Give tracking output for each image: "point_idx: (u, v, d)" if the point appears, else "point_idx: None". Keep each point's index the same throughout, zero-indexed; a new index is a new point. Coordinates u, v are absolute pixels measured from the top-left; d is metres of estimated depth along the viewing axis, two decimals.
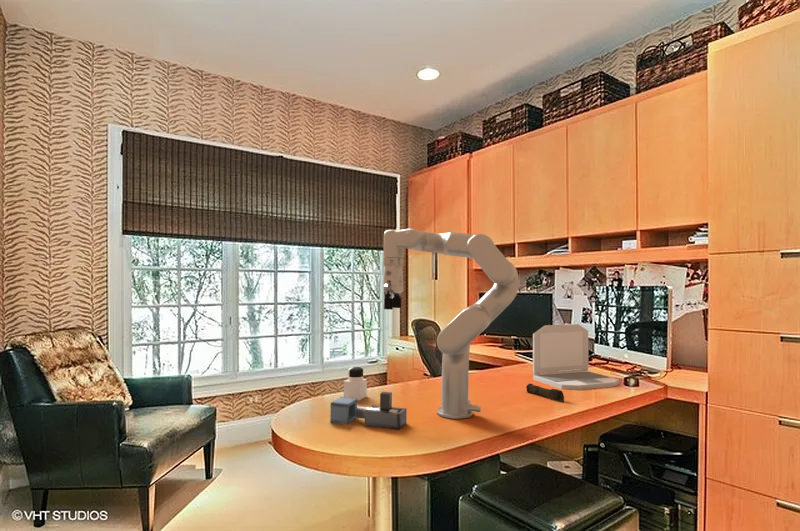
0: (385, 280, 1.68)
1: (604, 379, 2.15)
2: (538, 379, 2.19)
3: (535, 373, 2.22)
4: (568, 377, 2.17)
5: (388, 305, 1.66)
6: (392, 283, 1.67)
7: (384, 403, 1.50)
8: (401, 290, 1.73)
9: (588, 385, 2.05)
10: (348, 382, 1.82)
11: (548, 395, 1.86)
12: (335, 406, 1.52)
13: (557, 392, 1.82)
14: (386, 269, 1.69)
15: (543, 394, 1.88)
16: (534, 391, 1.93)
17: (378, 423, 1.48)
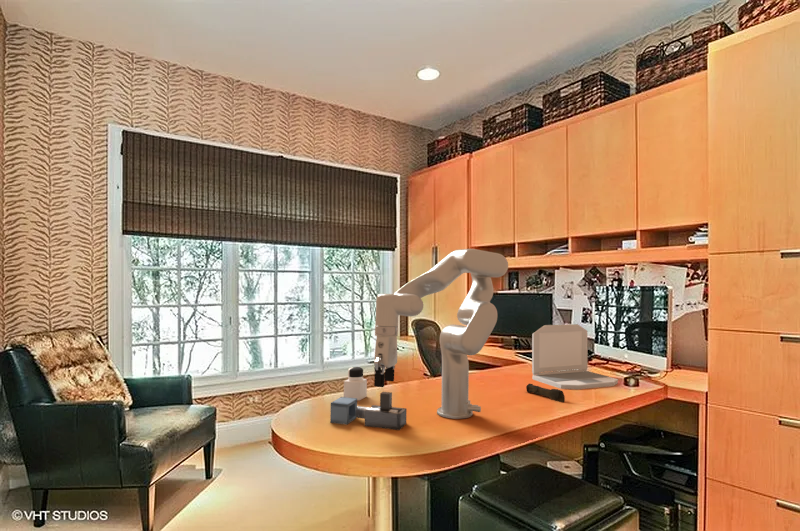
0: (376, 353, 1.47)
1: (603, 379, 2.16)
2: (537, 379, 2.19)
3: (534, 373, 2.22)
4: (567, 377, 2.18)
5: (379, 382, 1.45)
6: (384, 357, 1.46)
7: (384, 403, 1.50)
8: (394, 362, 1.52)
9: (587, 385, 2.05)
10: (348, 382, 1.82)
11: (548, 395, 1.86)
12: (335, 406, 1.52)
13: (558, 392, 1.83)
14: (378, 340, 1.47)
15: (543, 394, 1.88)
16: (534, 391, 1.93)
17: (378, 423, 1.48)
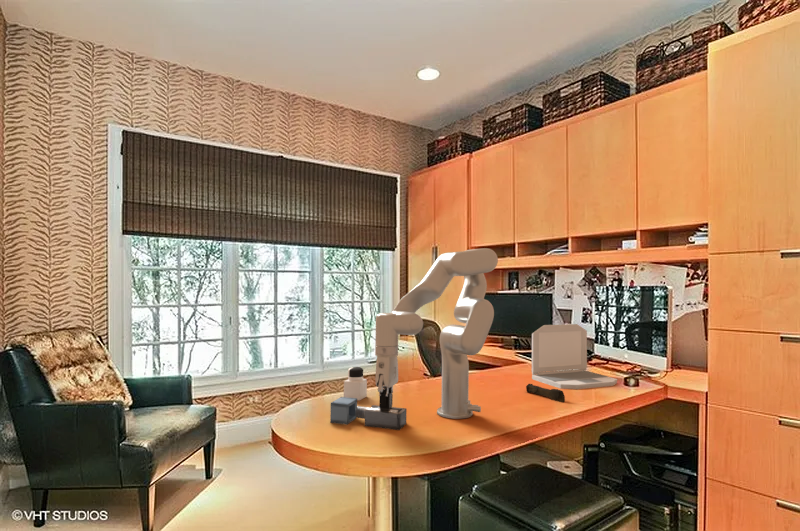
0: (377, 373, 1.47)
1: (602, 379, 2.16)
2: (537, 379, 2.19)
3: (534, 373, 2.23)
4: (567, 377, 2.18)
5: (384, 404, 1.48)
6: (385, 377, 1.46)
7: None
8: (396, 381, 1.52)
9: (587, 385, 2.05)
10: (348, 382, 1.82)
11: (548, 395, 1.86)
12: (335, 406, 1.52)
13: (558, 392, 1.83)
14: (378, 360, 1.47)
15: (543, 394, 1.88)
16: (534, 391, 1.93)
17: (378, 423, 1.48)
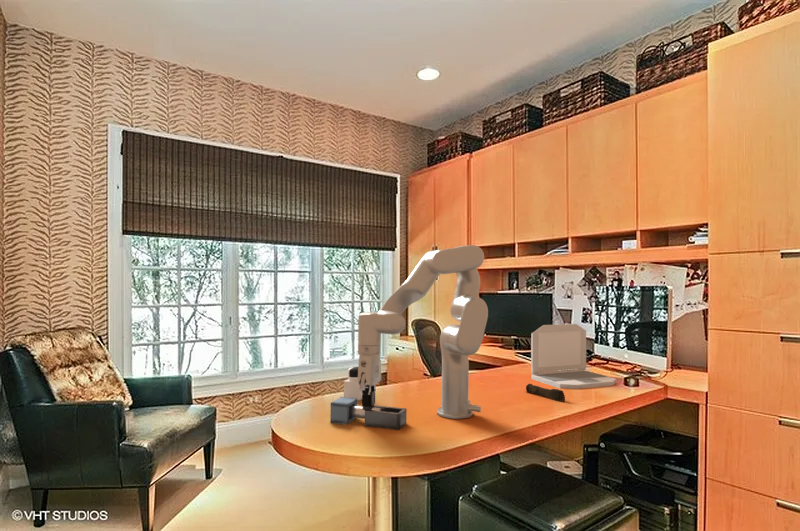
0: (359, 372, 1.49)
1: (602, 378, 2.17)
2: (536, 378, 2.20)
3: (533, 373, 2.23)
4: (566, 376, 2.19)
5: (366, 402, 1.50)
6: (367, 376, 1.48)
7: None
8: (378, 380, 1.54)
9: (586, 384, 2.06)
10: (348, 382, 1.82)
11: (549, 395, 1.86)
12: (335, 406, 1.52)
13: (558, 392, 1.83)
14: (360, 359, 1.49)
15: (543, 394, 1.88)
16: (534, 391, 1.93)
17: (378, 423, 1.48)
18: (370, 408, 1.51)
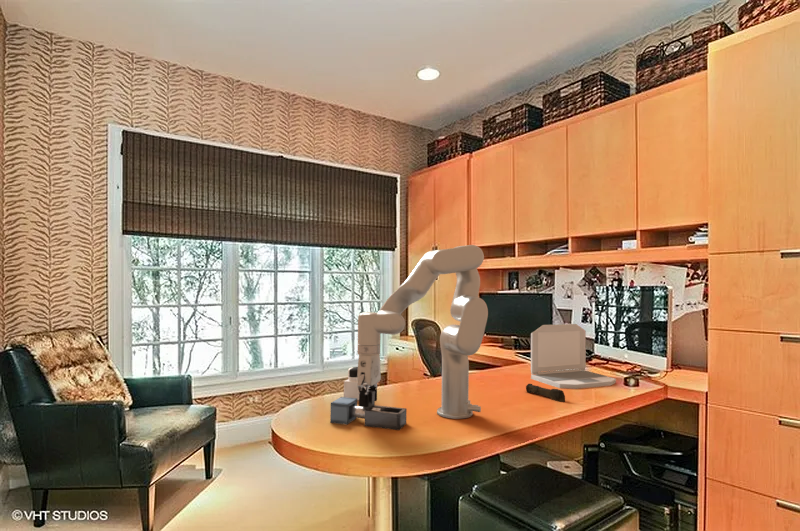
0: (359, 372, 1.49)
1: (601, 378, 2.17)
2: (536, 378, 2.20)
3: (533, 372, 2.23)
4: (566, 376, 2.19)
5: (363, 402, 1.48)
6: (367, 376, 1.48)
7: None
8: (378, 380, 1.54)
9: (586, 384, 2.06)
10: (348, 382, 1.82)
11: (549, 395, 1.86)
12: (335, 406, 1.52)
13: (558, 392, 1.83)
14: (360, 359, 1.49)
15: (543, 394, 1.88)
16: (534, 391, 1.93)
17: (378, 423, 1.48)
18: (370, 408, 1.51)
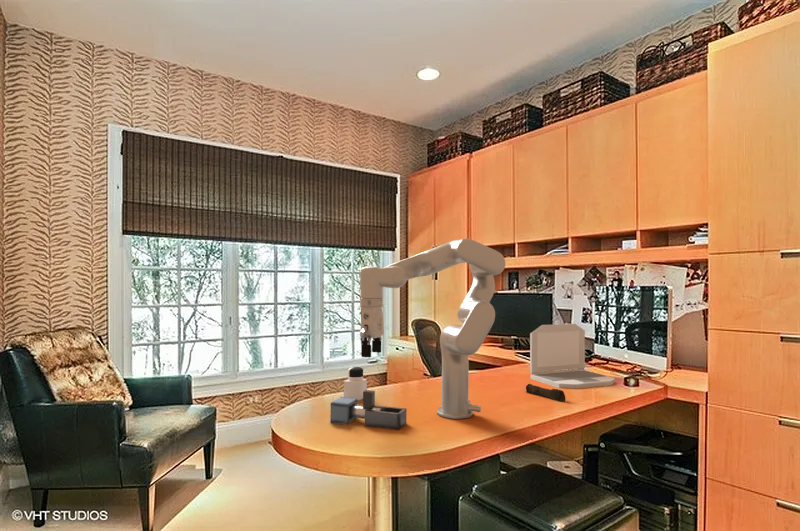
0: (362, 324, 1.50)
1: (601, 378, 2.17)
2: (535, 378, 2.20)
3: (532, 372, 2.24)
4: (565, 376, 2.20)
5: (366, 353, 1.48)
6: (370, 328, 1.49)
7: (367, 401, 1.52)
8: (381, 333, 1.55)
9: (585, 384, 2.07)
10: (348, 382, 1.82)
11: (549, 395, 1.86)
12: (335, 406, 1.52)
13: (558, 392, 1.83)
14: (363, 312, 1.50)
15: (543, 394, 1.88)
16: (534, 391, 1.92)
17: (378, 423, 1.48)
18: (370, 408, 1.51)
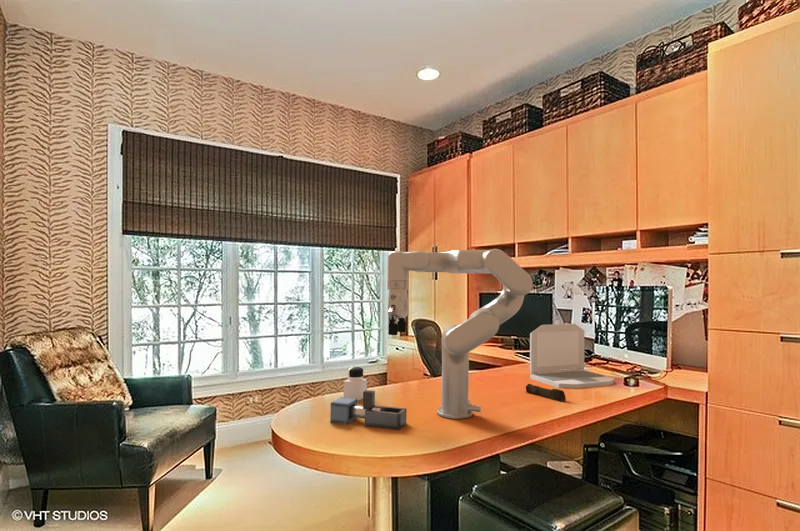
0: (389, 304, 1.61)
1: (600, 378, 2.18)
2: (535, 378, 2.21)
3: (532, 372, 2.24)
4: (565, 376, 2.20)
5: (393, 331, 1.59)
6: (397, 308, 1.60)
7: (367, 401, 1.52)
8: (406, 314, 1.66)
9: (585, 384, 2.07)
10: (348, 382, 1.82)
11: (549, 395, 1.86)
12: (335, 406, 1.52)
13: (559, 392, 1.83)
14: (390, 293, 1.61)
15: (544, 394, 1.88)
16: (534, 391, 1.92)
17: (378, 423, 1.48)
18: (370, 408, 1.51)
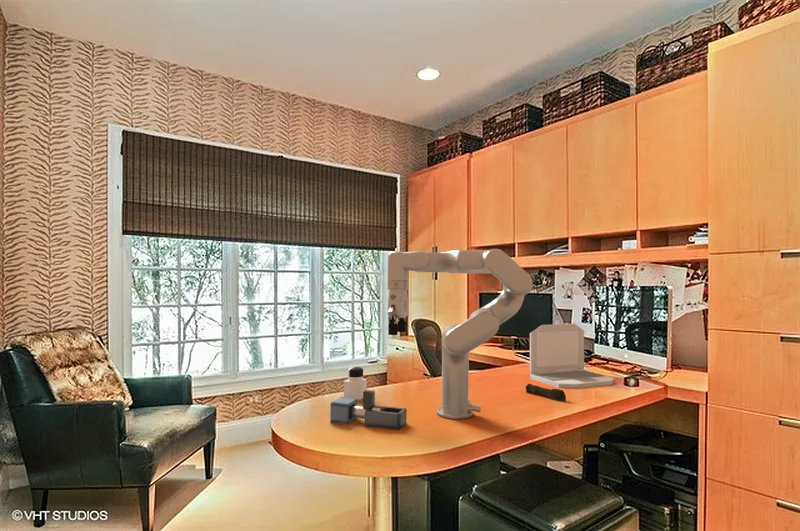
0: (389, 304, 1.61)
1: (600, 378, 2.18)
2: (535, 378, 2.21)
3: (532, 372, 2.24)
4: (564, 376, 2.20)
5: (393, 331, 1.59)
6: (397, 308, 1.60)
7: (367, 401, 1.52)
8: (406, 314, 1.66)
9: (585, 384, 2.07)
10: (348, 382, 1.82)
11: (549, 395, 1.86)
12: (335, 406, 1.52)
13: (559, 392, 1.83)
14: (390, 293, 1.62)
15: (544, 394, 1.88)
16: (534, 391, 1.92)
17: (378, 423, 1.48)
18: (370, 408, 1.51)
